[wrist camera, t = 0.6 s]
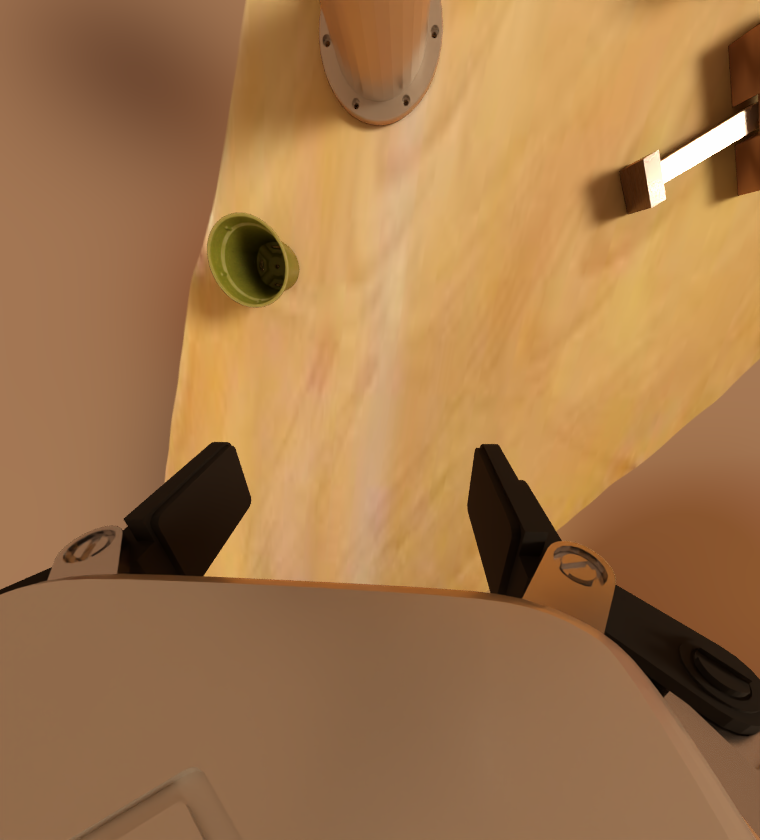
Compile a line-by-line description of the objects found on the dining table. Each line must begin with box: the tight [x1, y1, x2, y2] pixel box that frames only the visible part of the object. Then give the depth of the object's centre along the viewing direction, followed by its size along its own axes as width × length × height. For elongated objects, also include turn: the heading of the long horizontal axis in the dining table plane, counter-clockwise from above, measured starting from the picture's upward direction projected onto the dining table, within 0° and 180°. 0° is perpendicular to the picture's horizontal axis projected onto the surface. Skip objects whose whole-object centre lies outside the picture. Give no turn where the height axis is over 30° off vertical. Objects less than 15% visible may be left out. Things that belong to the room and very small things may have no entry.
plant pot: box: [207, 213, 299, 308], centre depth 36 cm, size 9×9×9 cm
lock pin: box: [619, 102, 759, 214], centre depth 30 cm, size 5×11×4 cm, turn 121°
